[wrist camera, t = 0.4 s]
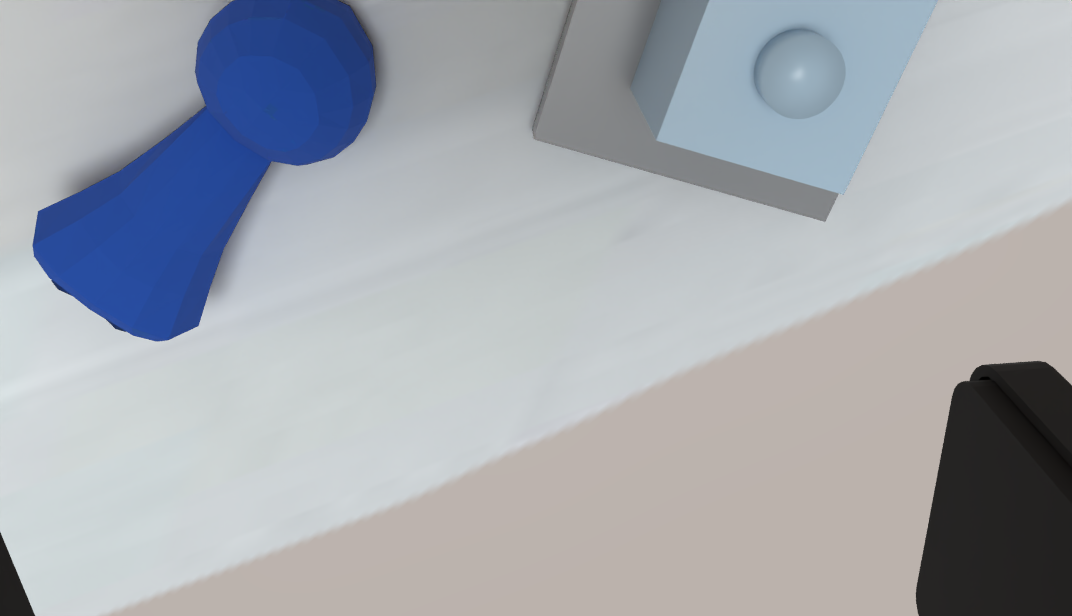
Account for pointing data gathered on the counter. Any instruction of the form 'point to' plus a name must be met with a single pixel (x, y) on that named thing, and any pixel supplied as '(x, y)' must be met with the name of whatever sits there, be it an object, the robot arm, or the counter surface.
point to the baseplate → (639, 111)
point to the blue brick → (777, 80)
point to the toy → (211, 163)
